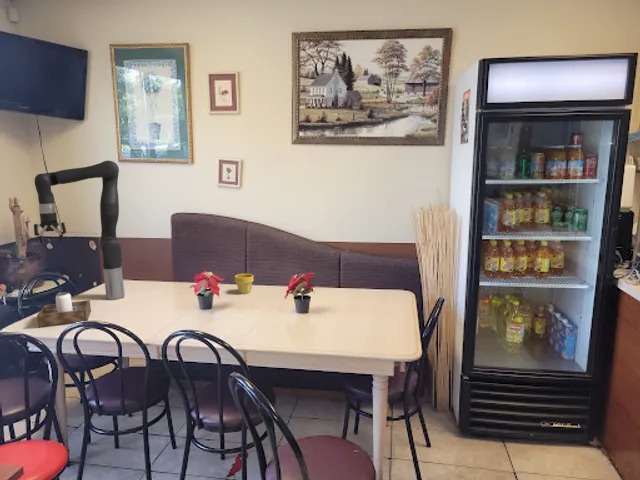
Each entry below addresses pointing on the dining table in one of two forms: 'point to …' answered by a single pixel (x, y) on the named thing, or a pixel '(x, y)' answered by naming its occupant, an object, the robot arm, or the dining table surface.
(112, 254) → the robot arm
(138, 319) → the dining table surface
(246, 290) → the plant pot
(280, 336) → the dining table surface
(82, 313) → the box
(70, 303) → the can
